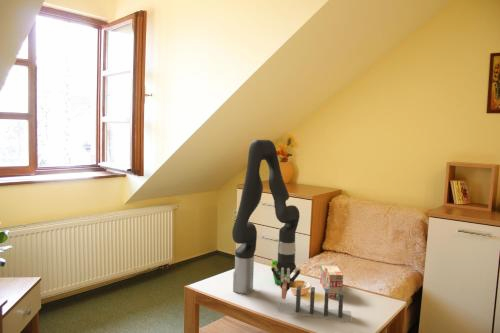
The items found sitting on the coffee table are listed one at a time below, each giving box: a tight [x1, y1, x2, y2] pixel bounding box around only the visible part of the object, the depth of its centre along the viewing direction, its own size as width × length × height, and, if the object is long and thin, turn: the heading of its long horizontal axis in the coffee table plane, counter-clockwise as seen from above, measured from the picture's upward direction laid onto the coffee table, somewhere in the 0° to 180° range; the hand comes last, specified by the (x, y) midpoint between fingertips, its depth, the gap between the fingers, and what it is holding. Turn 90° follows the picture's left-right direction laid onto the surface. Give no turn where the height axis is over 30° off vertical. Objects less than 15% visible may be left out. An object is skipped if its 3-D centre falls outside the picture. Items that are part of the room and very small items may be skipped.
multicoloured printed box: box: [320, 265, 344, 300], centre depth 194 cm, size 21×6×12 cm, turn 1°
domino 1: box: [281, 277, 288, 300], centre depth 171 cm, size 2×5×10 cm
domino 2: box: [295, 285, 302, 313], centre depth 171 cm, size 2×5×10 cm, turn 168°
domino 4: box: [323, 288, 330, 316], centre depth 168 cm, size 2×5×10 cm, turn 168°
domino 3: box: [309, 286, 316, 314], centre depth 170 cm, size 2×5×10 cm, turn 168°
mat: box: [277, 302, 352, 323], centre depth 170 cm, size 31×10×1 cm, turn 78°
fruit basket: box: [270, 259, 287, 285], centre depth 205 cm, size 11×9×11 cm
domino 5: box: [337, 289, 344, 318], centre depth 167 cm, size 2×5×10 cm, turn 168°
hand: (285, 289), depth 172 cm, fingers closed on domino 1, 1 cm apart
